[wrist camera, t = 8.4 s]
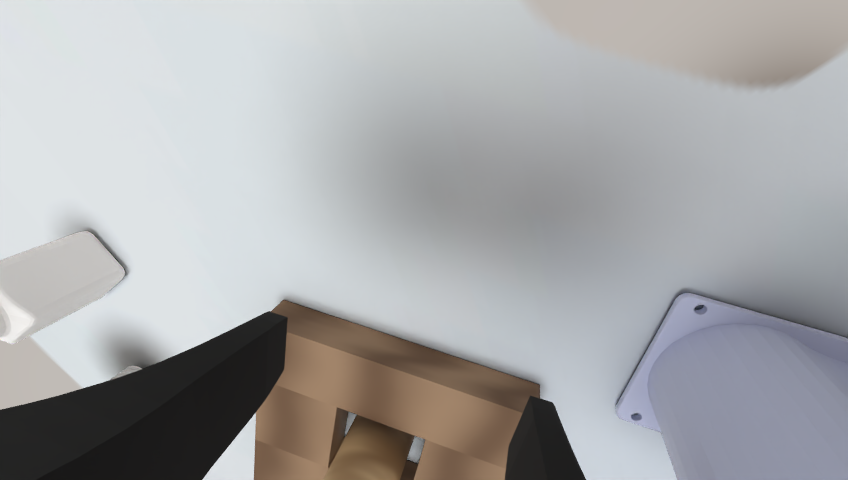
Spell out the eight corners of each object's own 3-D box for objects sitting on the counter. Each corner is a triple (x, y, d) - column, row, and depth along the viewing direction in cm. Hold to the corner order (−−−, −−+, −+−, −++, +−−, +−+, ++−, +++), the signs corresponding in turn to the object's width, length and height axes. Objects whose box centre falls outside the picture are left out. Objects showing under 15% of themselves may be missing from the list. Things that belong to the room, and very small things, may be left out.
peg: (418, 406, 26) (373, 535, 19) (414, 451, 28) (371, 585, 20) (359, 391, 27) (294, 509, 20) (358, 435, 28) (298, 559, 21)
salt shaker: (90, 224, 27) (-115, 297, 18) (133, 272, 28) (-45, 363, 19) (64, 252, 29) (-135, 330, 20) (105, 296, 29) (-70, 390, 21)
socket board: (539, 384, 23) (540, 418, 21) (477, 529, 29) (472, 568, 27) (283, 299, 25) (259, 322, 23) (274, 450, 31) (253, 479, 29)
